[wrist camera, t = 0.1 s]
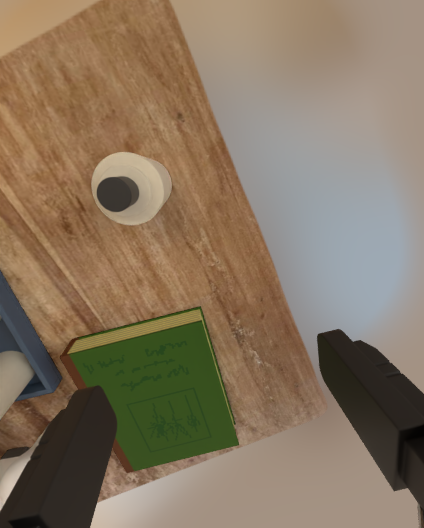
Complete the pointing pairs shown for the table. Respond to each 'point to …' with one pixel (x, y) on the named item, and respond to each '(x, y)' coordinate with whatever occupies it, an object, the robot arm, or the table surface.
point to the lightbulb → (15, 472)
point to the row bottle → (13, 377)
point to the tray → (25, 344)
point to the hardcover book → (157, 387)
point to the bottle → (130, 187)
